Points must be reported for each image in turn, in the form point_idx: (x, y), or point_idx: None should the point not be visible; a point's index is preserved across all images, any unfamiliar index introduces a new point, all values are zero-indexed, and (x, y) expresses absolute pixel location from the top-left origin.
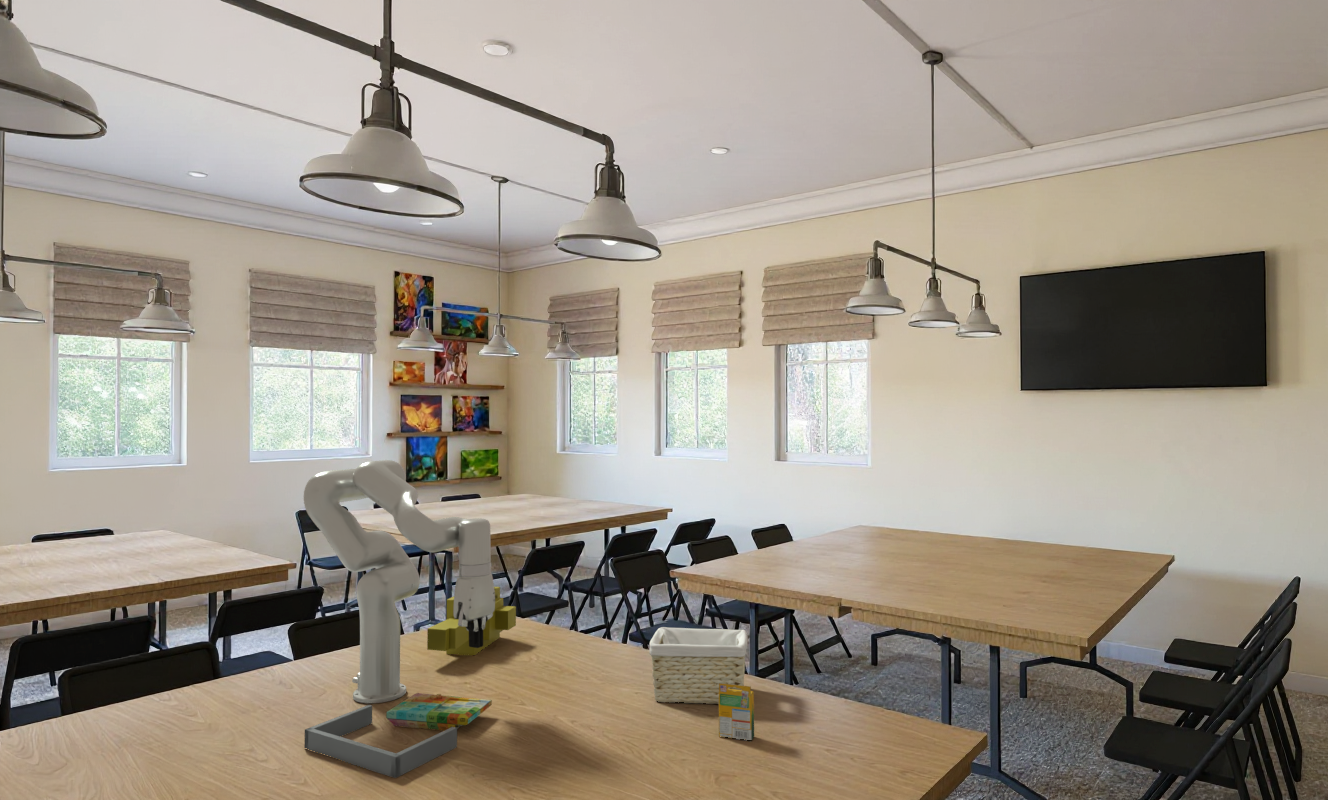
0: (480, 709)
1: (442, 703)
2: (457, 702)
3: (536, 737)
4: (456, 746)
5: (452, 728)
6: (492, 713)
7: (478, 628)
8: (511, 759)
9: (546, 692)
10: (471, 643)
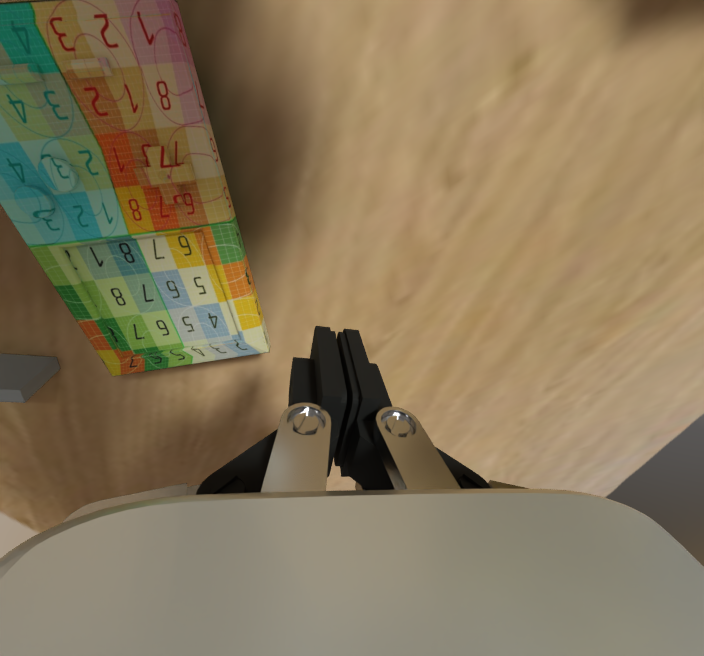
0: (194, 363)
1: (143, 237)
2: (196, 272)
3: (216, 458)
4: (57, 369)
5: (10, 395)
6: (285, 323)
7: (347, 465)
8: (105, 473)
9: (454, 359)
10: (291, 372)
